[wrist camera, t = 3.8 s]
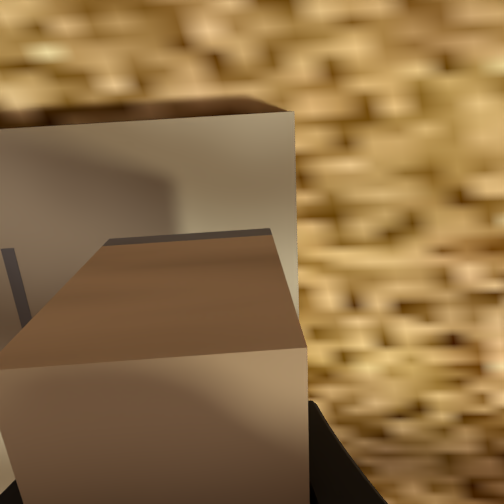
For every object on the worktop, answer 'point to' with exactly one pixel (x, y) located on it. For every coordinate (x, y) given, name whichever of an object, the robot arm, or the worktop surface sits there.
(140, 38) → the worktop surface
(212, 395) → the block
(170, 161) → the board
